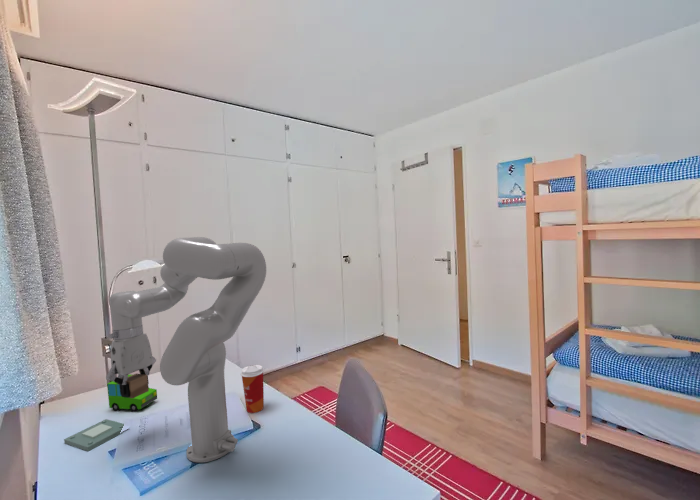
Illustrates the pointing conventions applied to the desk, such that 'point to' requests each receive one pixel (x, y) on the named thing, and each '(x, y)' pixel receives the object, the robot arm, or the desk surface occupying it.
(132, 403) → the toy car
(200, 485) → the desk surface
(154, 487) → the desk surface
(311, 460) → the desk surface
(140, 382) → the walnut cube
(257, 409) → the paper cup
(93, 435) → the baseplate
